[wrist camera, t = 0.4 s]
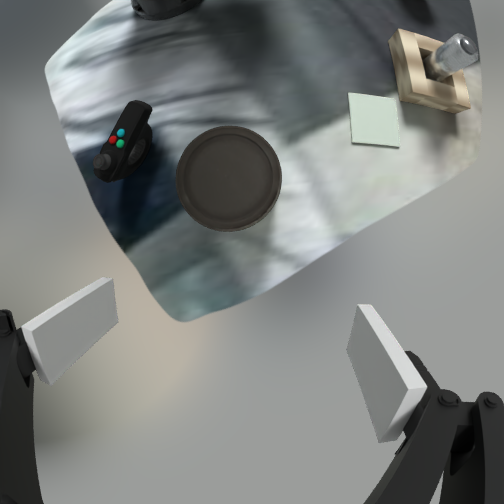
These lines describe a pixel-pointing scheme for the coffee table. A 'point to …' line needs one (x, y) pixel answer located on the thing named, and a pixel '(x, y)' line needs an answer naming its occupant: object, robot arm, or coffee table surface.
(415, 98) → the housing
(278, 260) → the coffee table surface
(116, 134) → the controller
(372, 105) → the pad
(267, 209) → the coffee can
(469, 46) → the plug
